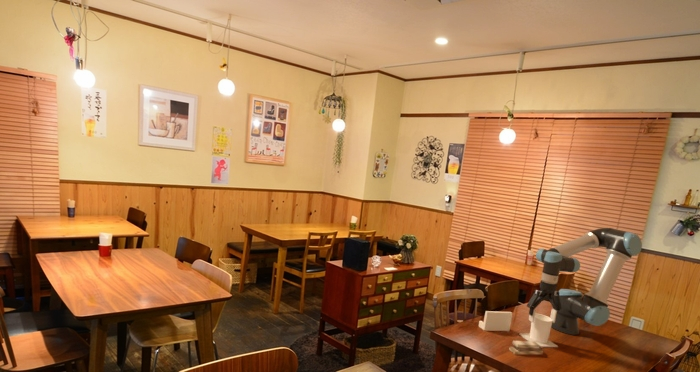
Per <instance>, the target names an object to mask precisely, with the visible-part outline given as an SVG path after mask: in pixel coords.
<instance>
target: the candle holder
mask: <svg viewBox="0 0 700 372" xmlns="http://www.w3.org/2000/svg"><path fill="white" fill-rule="evenodd" d="M552 323H553V320H552V319H551V318H550V316H547V315H545V314H541V313H537V312H535V317H534V322H531V321H530V331H529V333H530V338H531V339H532V340H534V341H536V342H539V343H547V341H548V340H549V338H550V333H551V330H552V327H551V326H552Z"/></svg>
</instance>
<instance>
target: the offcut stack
mask: <svg viewBox="0 0 700 372" xmlns="http://www.w3.org/2000/svg"><path fill="white" fill-rule="evenodd" d="M511 343H512V345H513V346H509V348H508V350H509V351H510V352H511V353H512V352H513V353H512V354H514V355H543V353H544V351H543V347H541V346H540V345H538V344H537V343H536V342H533V341H528V340H512V342H511Z"/></svg>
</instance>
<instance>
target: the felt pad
mask: <svg viewBox="0 0 700 372" xmlns="http://www.w3.org/2000/svg"><path fill="white" fill-rule="evenodd" d="M518 335H519V336H520V337H522V338H523V339H525V341H533V342H536V341H534V340H532V339H531V338H530V332H528V333H527V332H526V333H518ZM536 343H537V344H538V345H540V346H541V347H542V348H559V346H558V344H556V343H554V342H553V341H551V340H549V339H548V341H547V343H539V342H536Z"/></svg>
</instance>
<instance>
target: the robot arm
mask: <svg viewBox="0 0 700 372" xmlns="http://www.w3.org/2000/svg"><path fill="white" fill-rule="evenodd" d="M597 248H605V251H606V253H607V254H606V256H605V258H604V260H603V262H602V265H600V266H601V267H600V268H599V270H598V273H597V275H596V277H595V279H594V281H593V283H592V285H591V288H590V289H589V291H588V292H586V293H584V294H583V293H582V292H581V291H578V290H574V289H569V288H560V289H559V290H557V286H558V281H559V276H560V272H564V273H565V272H566V273H576V272H578V271H579V270H580V268H581V263H580V261H579V259H578V258H576V257H572V256H575V255H577V254H580V253H582V252H584V251H587V250H590V249H597ZM642 248H643V242H642V239H641V238H640V235H638V234H636V233H633V232H630V231H626V230H620V229H616V228H613V227H602V228H601V227H600V228H597V229H593V230H590V231H587V232H585V233H584V234H583V235H582V236H579V237H577V238H574V239H572V240H569V241H567V242H564V243H562V244H559V245H557V246H554V247H552V248H549V249H547V248H540V249H538V250H537V251H536V253H535V258H536V260H537V261H538V262H541V263H542V264H543V267H542V268H543V269H542V272H541V277H540V279H541V280H540V283H539V289H540V290H538V289H534V292H533V294H532V296H531V297H530V299H529V301H528V302H527V304H526V307H527V308H529V311H528V321H530V323H531V322H534V317H535V313H537V312H536V310H537V309H536V308H537V307H538V306H539V305H540V304H541V302H544V301H549V302H550V304H551V307H552V308H551V310H550V316H549V317H550V318H551V319H552V320H553V323H552V326H551V329H554V330H556V331H558V332H561V333H564V334H567V335H572V336H576V335H579V333H580V328H579V321H578V319H580V320H582V321H584V322H586V323H588V324H590V325H592V326H595V327H597V326H599V327H600V326H602V325H605V323H607V322H608V320H609V319H610V315H611V314H610V313H611V312H610V309H609V308H608V307H609V303H608V299H609V296H610V294H611V293H612V291H613V288H614V286H615V284H616V282H617V279H618V278H619V276H620V274H621V271H622V270H623V267H624V265H625V263H626V261H630V260H631V259H632V257H634V256H638V255H639V254H640V253H641V252H642Z"/></svg>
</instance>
